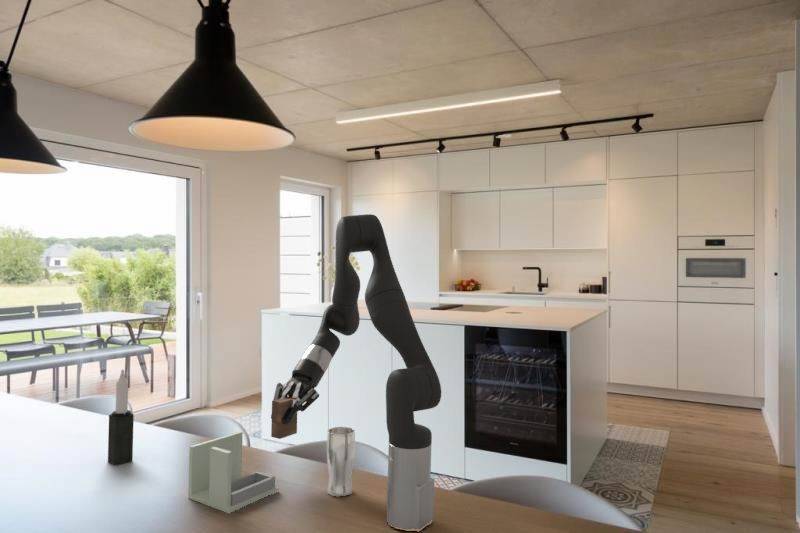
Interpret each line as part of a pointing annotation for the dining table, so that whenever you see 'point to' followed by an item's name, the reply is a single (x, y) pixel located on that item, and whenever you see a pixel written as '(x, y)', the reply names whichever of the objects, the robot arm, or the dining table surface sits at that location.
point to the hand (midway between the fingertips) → (278, 421)
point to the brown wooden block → (278, 411)
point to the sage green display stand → (225, 475)
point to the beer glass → (340, 460)
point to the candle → (121, 426)
